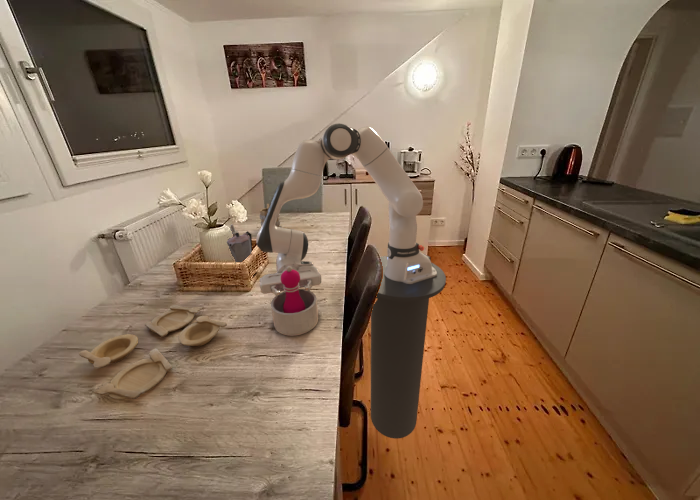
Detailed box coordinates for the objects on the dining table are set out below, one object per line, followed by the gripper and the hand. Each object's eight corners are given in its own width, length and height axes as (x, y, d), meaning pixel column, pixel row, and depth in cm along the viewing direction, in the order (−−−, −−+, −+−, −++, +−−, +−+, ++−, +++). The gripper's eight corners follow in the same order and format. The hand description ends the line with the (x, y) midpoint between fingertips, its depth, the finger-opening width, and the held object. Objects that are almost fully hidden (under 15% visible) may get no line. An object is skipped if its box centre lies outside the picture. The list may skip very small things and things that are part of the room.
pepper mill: (311, 317, 95) (305, 264, 87) (296, 329, 89) (288, 274, 81) (295, 310, 99) (288, 259, 91) (280, 321, 93) (271, 268, 85)
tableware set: (183, 304, 105) (181, 295, 103) (239, 326, 92) (237, 316, 91) (63, 371, 77) (57, 360, 75) (120, 416, 64) (113, 404, 62)
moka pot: (228, 281, 120) (217, 237, 112) (246, 265, 134) (238, 225, 126) (248, 282, 118) (239, 238, 110) (264, 266, 132) (258, 226, 124)
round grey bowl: (314, 304, 102) (312, 286, 99) (321, 330, 89) (319, 309, 86) (273, 312, 99) (270, 293, 96) (274, 339, 86) (271, 318, 83)
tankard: (282, 233, 174) (278, 209, 167) (260, 235, 171) (256, 211, 165) (281, 223, 191) (278, 201, 185) (262, 225, 189) (259, 203, 183)
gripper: (258, 269, 97) (257, 289, 85) (316, 260, 102) (323, 278, 90) (261, 284, 100) (260, 306, 87) (317, 275, 104) (324, 295, 92)
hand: (293, 292), depth 89 cm, fingers open, 8 cm apart
